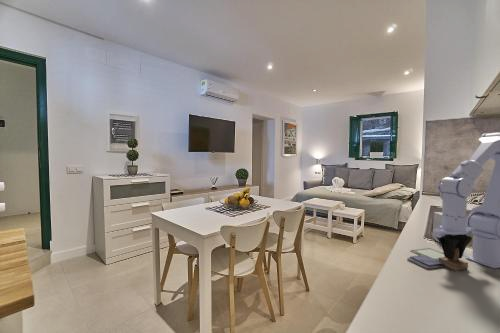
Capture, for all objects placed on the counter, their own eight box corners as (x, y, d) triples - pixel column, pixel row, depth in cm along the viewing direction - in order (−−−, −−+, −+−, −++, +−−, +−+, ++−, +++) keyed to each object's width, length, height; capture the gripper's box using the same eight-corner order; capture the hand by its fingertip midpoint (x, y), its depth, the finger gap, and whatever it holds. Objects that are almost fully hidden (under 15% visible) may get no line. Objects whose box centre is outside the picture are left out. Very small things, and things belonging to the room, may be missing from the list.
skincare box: (453, 245, 92) (454, 215, 91) (441, 244, 92) (441, 215, 92) (444, 240, 98) (444, 212, 97) (432, 239, 98) (433, 211, 98)
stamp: (450, 262, 76) (450, 244, 76) (467, 269, 71) (468, 249, 71) (438, 264, 75) (439, 245, 75) (455, 271, 70) (455, 251, 70)
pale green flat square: (429, 248, 88) (429, 247, 88) (455, 258, 79) (455, 257, 79) (410, 251, 86) (410, 249, 86) (434, 261, 77) (434, 259, 77)
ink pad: (423, 258, 80) (423, 254, 80) (445, 267, 73) (445, 263, 73) (407, 260, 78) (407, 256, 78) (427, 269, 71) (427, 265, 71)
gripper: (457, 211, 78) (456, 250, 78) (423, 213, 75) (422, 254, 75) (482, 216, 71) (481, 259, 71) (446, 219, 68) (445, 264, 68)
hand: (453, 257), depth 73 cm, fingers closed on stamp, 3 cm apart
